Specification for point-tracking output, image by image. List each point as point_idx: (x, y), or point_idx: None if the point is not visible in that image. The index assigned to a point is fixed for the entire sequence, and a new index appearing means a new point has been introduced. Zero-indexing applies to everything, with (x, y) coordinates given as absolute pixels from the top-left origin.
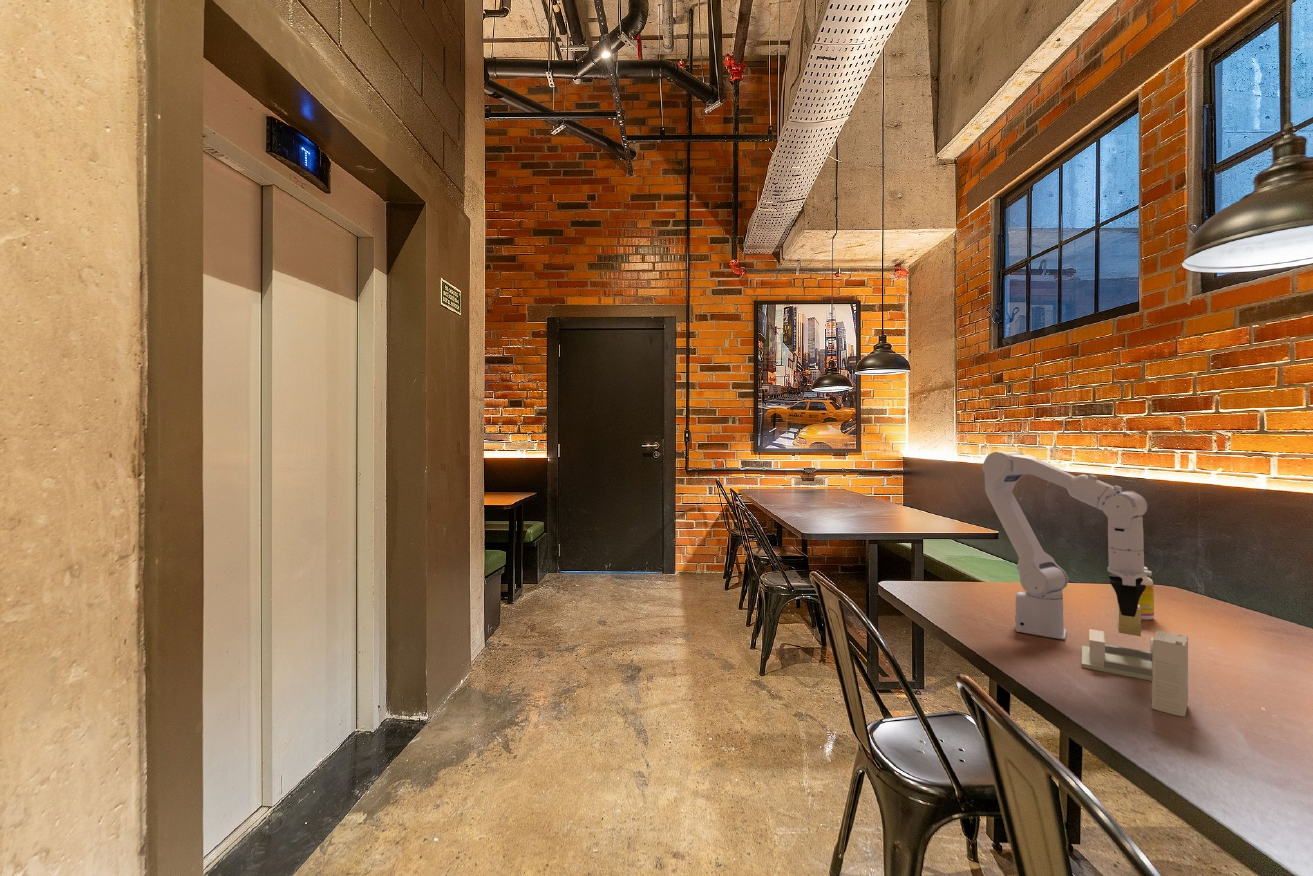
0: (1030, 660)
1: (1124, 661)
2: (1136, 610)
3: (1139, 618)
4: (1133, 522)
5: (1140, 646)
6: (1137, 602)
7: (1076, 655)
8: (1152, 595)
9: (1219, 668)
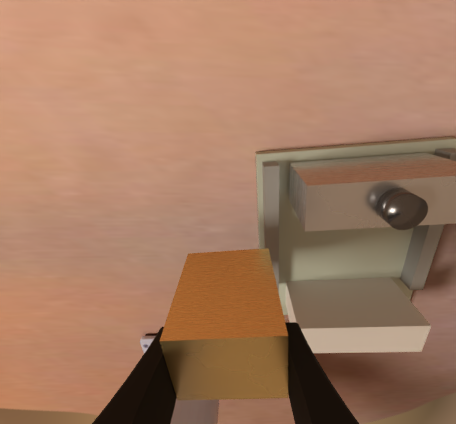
0: (400, 364)
1: (339, 246)
2: (310, 350)
3: (280, 302)
4: None
5: (128, 213)
6: (347, 407)
7: None
8: None
9: (184, 16)
